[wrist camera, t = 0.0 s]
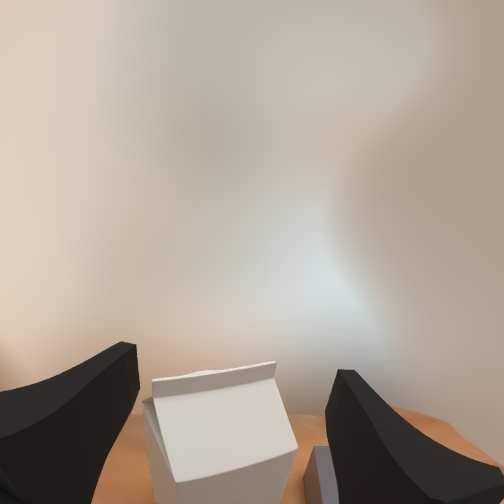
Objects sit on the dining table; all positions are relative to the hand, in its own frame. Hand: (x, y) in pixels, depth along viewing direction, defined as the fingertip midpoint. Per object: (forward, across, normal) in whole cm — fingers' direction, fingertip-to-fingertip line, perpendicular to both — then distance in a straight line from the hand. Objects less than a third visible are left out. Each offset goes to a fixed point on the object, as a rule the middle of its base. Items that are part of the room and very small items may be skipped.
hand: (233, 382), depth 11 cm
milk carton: (+3, +1, +22) cm, 23 cm away
